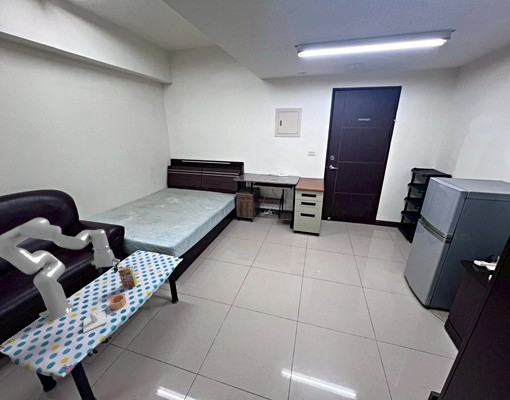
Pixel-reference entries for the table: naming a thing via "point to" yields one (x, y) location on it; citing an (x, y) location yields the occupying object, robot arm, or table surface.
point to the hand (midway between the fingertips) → (108, 272)
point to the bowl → (117, 301)
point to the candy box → (127, 277)
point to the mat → (95, 328)
